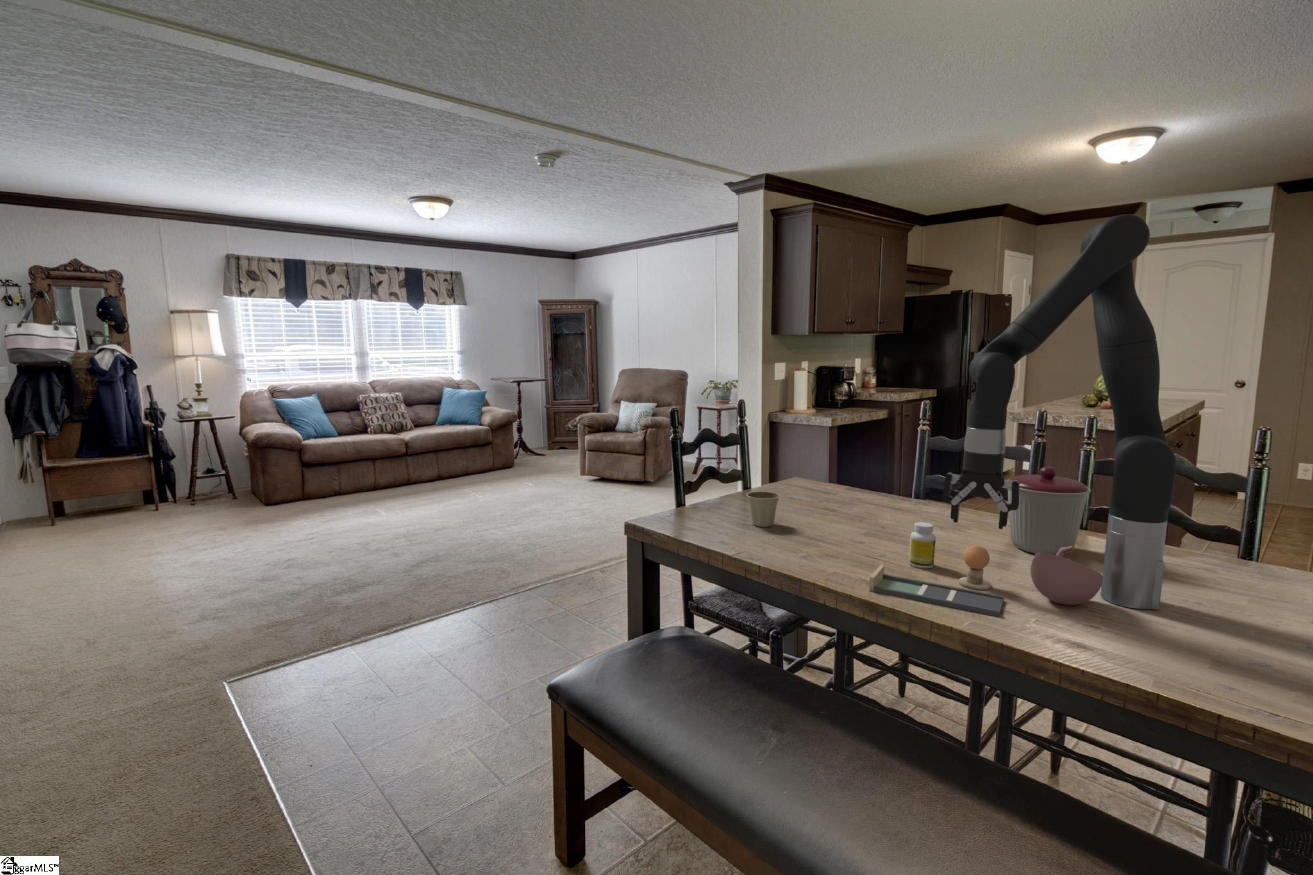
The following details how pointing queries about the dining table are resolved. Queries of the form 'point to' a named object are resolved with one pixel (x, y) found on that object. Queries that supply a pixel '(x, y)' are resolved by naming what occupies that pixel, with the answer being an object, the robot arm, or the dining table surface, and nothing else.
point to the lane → (936, 593)
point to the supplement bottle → (922, 546)
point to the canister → (1047, 512)
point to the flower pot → (763, 507)
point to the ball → (976, 557)
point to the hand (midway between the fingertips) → (977, 524)
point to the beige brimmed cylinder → (974, 580)
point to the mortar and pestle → (1064, 578)
